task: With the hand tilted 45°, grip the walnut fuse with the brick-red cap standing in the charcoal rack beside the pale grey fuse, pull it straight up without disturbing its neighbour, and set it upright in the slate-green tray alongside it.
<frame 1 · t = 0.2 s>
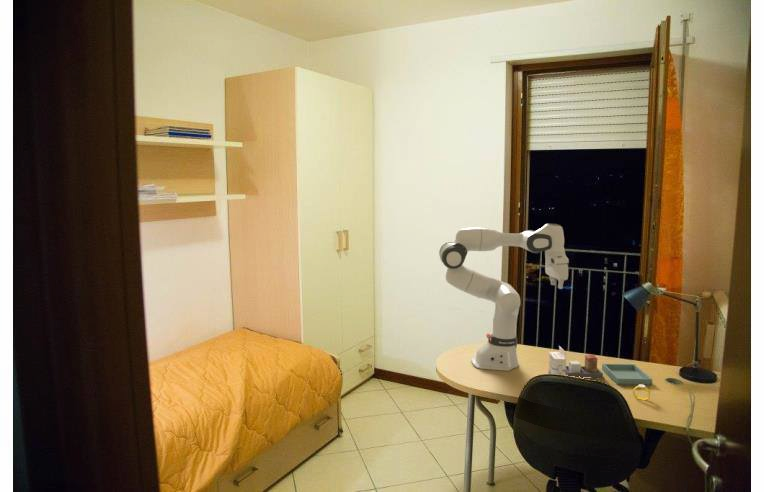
hand: (556, 286, 223), 39 cm above the table, tool pointing down, fingers open, 8 cm apart
pale grey fuse: (574, 374, 217), resting in fuse rack
ink cartridge box: (556, 380, 212), on the table
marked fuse: (590, 365, 216), in the fuse rack
slate-green tray: (625, 377, 214), on the table
fuse rack: (590, 375, 217), on the table
gold ring: (641, 399, 193), on the table
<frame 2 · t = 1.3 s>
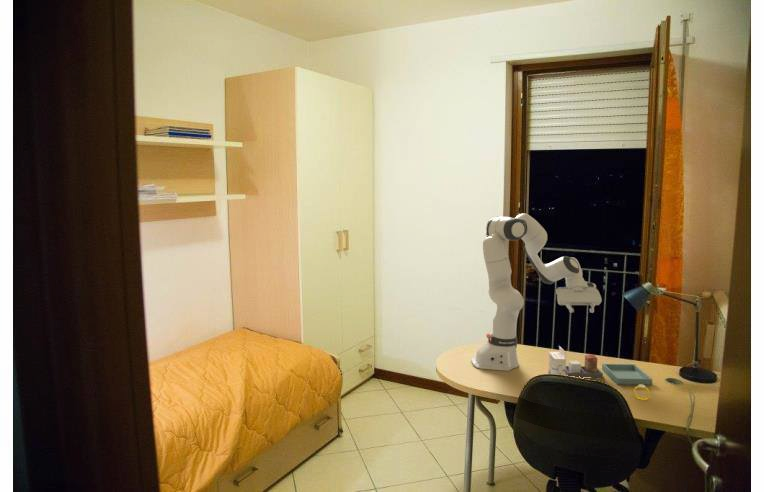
hand: (582, 312, 227), 26 cm above the table, tool tilted 45°, fingers open, 8 cm apart
nothing on the table moved.
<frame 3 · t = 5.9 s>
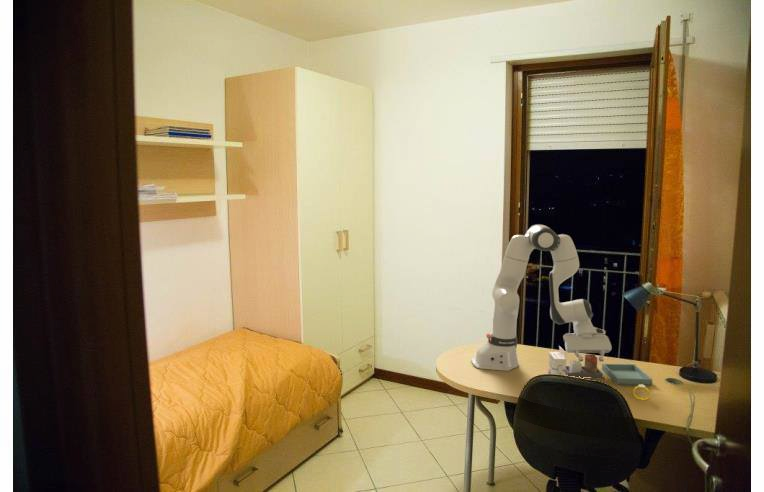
hand: (591, 360, 216), 6 cm above the table, tool tilted 45°, fingers open, 8 cm apart
pale grey fuse: (574, 374, 217), resting in fuse rack, touching gripper
everything else where it was.
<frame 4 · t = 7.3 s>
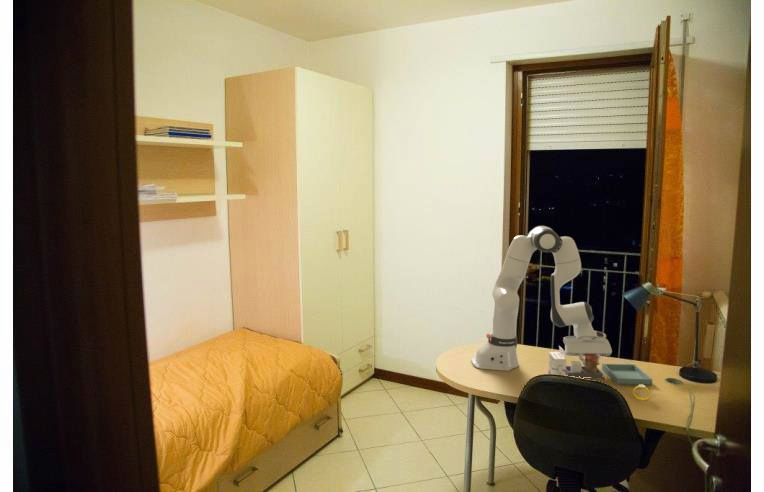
hand: (591, 364, 215), 5 cm above the table, tool tilted 45°, fingers closed on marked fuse, 4 cm apart
pale grey fuse: (575, 375, 216), resting in fuse rack
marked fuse: (590, 365, 216), in the fuse rack, touching gripper
everything else where it was.
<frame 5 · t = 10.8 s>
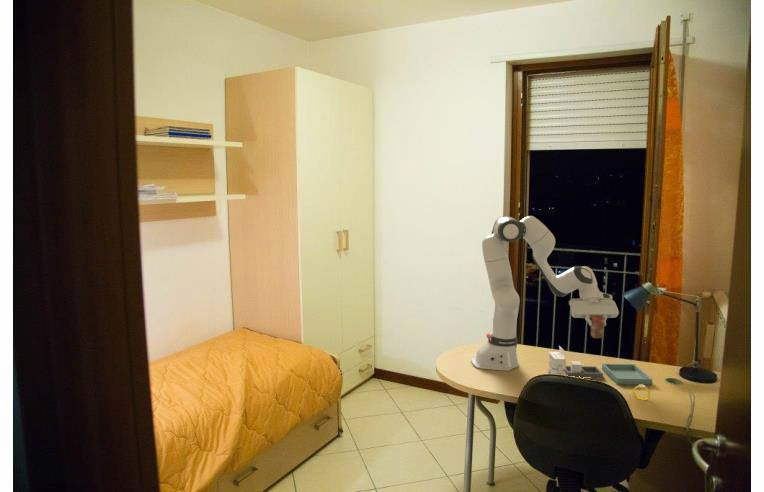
hand: (598, 325, 212), 24 cm above the table, tool tilted 45°, fingers closed on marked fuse, 4 cm apart
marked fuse: (597, 327, 213), point 23 cm above the table, touching gripper
everything else where it was.
when the fingers open (8 cm above the table, at t = 14.6 s): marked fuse drops 1 cm, resting on slate-green tray.
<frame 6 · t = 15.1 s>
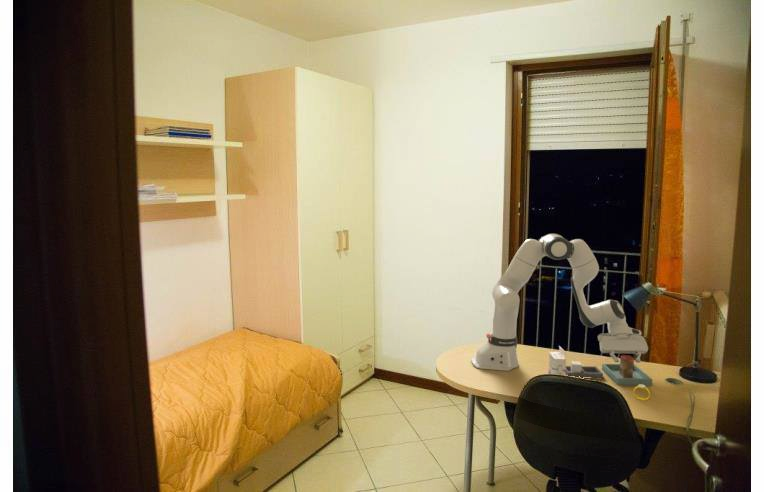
hand: (627, 361, 212), 8 cm above the table, tool tilted 45°, fingers open, 8 cm apart
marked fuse: (626, 366, 213), in the slate-green tray, point 5 cm above the table
everything else where it was.
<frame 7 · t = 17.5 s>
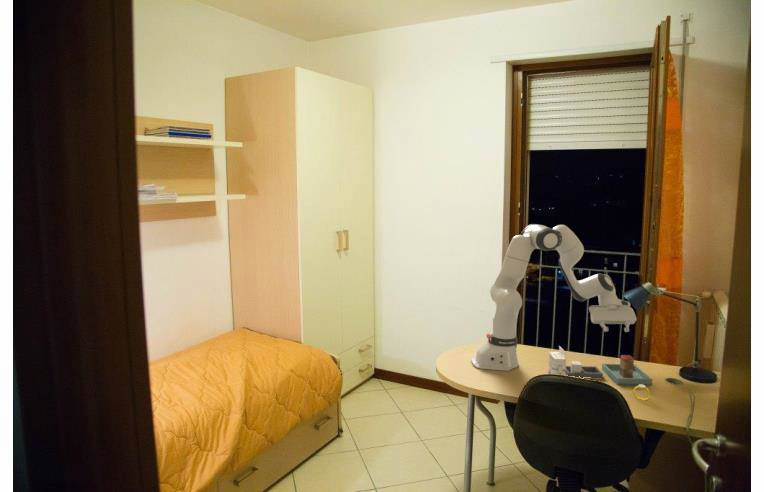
hand: (616, 331, 223), 18 cm above the table, tool tilted 45°, fingers open, 8 cm apart
nothing on the table moved.
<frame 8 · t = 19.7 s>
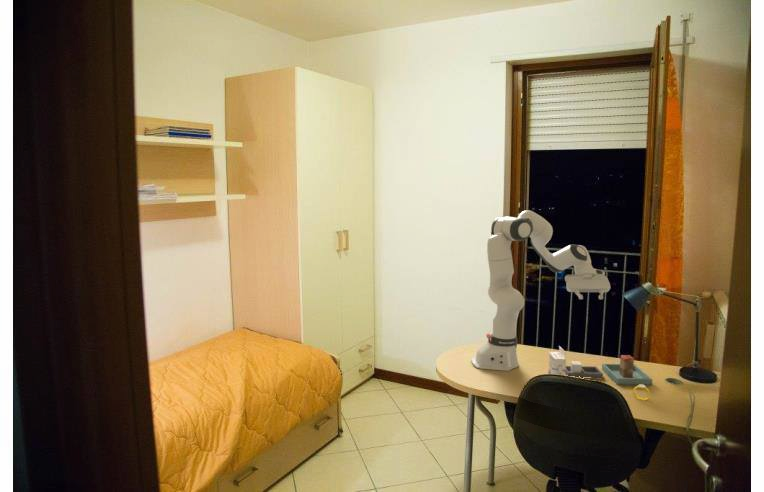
hand: (591, 298, 229), 31 cm above the table, tool tilted 45°, fingers open, 8 cm apart
nothing on the table moved.
at the end: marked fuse inside the target area on the slate-green tray (0.1 cm from its centre), point 5.3 cm above the slate-green tray's base; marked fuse tilted 0°; pale grey fuse moved 0.7 cm from its start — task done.
